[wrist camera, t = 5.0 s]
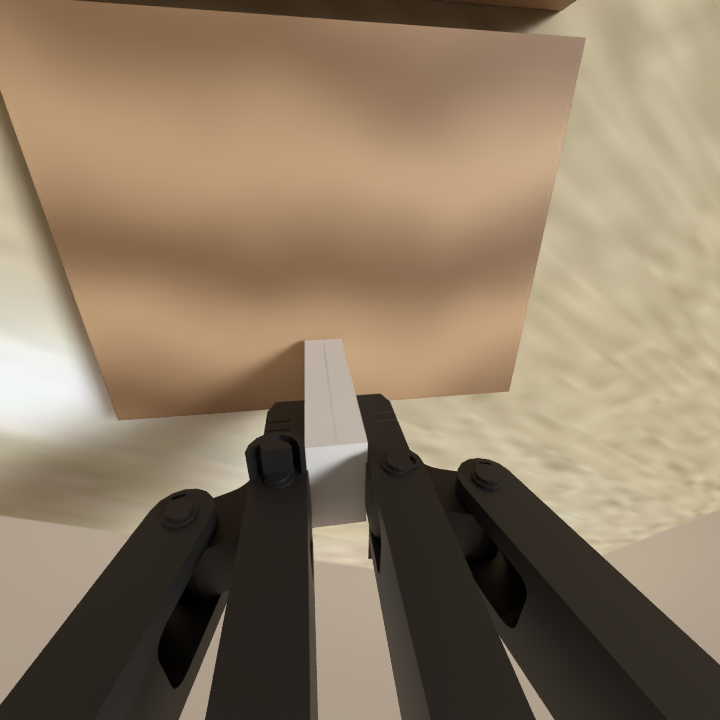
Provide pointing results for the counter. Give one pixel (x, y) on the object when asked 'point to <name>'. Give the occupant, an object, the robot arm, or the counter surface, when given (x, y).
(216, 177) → the oak plank
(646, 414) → the counter surface
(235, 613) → the robot arm
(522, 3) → the walnut board
